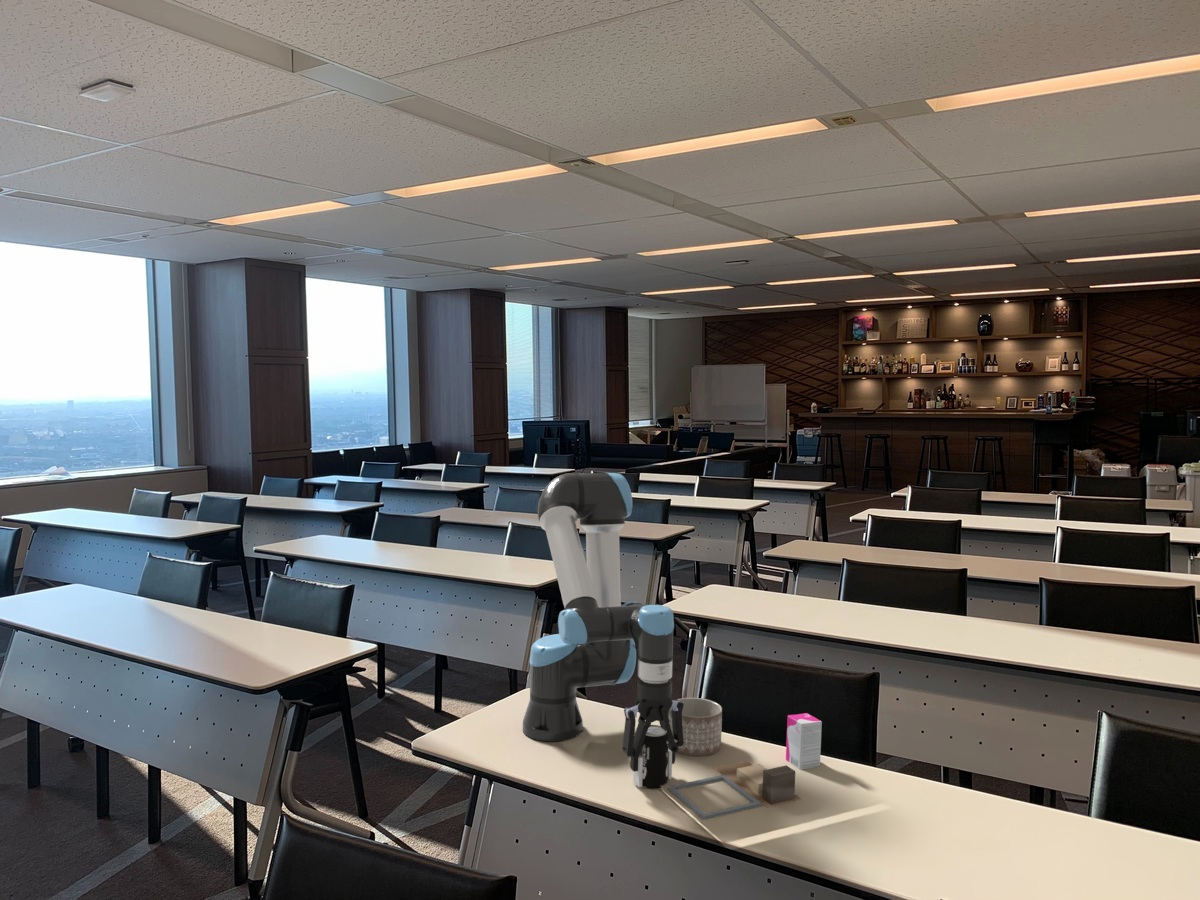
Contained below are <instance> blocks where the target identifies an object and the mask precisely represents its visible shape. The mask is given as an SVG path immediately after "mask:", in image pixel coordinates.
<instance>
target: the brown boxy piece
mask: <svg viewBox="0 0 1200 900" xmlns="http://www.w3.org/2000/svg"><path fill="white" fill-rule="evenodd" d="M751 765H753V764H752V763H750V762H749V761H748V760H742V761H737V762H732V763H726V764H723V765H717V766H713V767H712V768H713V769H714V770H715V771H717V772H718V773H720V775H725V776H726V777H727V778H729V779H730V780H731V781H733V782H734V783H735V784H737V785H738V786H739V787H741V788H742V789H743V790H745V791H746V792H747V793H749V794H750V795H751V796H753V797H754V798H755V799H757V800H758V801H759V802H761V803H762V805H763V807H765V808H770V807H774V806H778V805H783V804H786V803H791V802H792V803H793V802H795V801H799V800H802V798H801V797H800V796H798V795H797V794H795V791H796V770H794V769H793V768H791V767H790V766H788V765H782V766H777V767H772V768H766V769H767V770H763V789H762V795H759V796H758V795H757V794H755V793H754V792H753V791H751V790H750V789H749V788H747V787H746V786H744V785H743V784H742V783H740V782H739V781H738V780H737V768H742V767H747V766H751Z"/></svg>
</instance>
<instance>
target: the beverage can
mask: <svg viewBox="0 0 1200 900" xmlns="http://www.w3.org/2000/svg"><path fill="white" fill-rule="evenodd" d="M668 742H669V737H668V735H667V730H666V731H665V730H664V729H662V728H661V726H660V724H659V725H658V724H651V726H650V727H649V728H648V731H647V734H646V737H645V739H644V743H643V746H642V749H641V752H640V755H641V756H642V757H643V772H642V787H643V788H645V789H649V790H658V789H662V786H664V785H666V784H667V783H668V780H669V779H668Z"/></svg>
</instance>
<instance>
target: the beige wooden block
mask: <svg viewBox="0 0 1200 900" xmlns="http://www.w3.org/2000/svg"><path fill="white" fill-rule="evenodd" d="M767 769H768V768H766V767H765V766H763V765H761V764H760V763H758V764H757V763H756V764H752V765H751V766H747V767H742V768H737V780H738V781H739V782H740V783H742V784H743V785H744V786H746V787H747V788H749V789H750V790H751V791H753V792H754V793H755V794H757V795H758V796H759V795H762V789H763V770H767Z"/></svg>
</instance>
